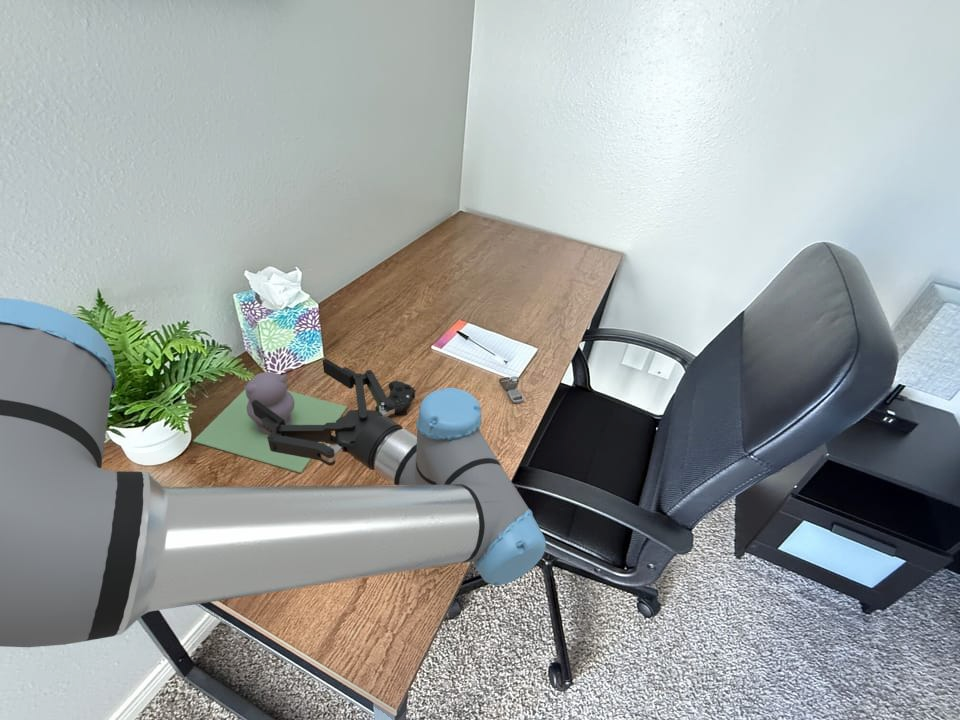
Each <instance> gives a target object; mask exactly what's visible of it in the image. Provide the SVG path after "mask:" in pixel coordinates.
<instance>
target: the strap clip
mask: <svg viewBox="0 0 960 720" xmlns="http://www.w3.org/2000/svg"><path fill="white" fill-rule="evenodd" d="M498 380H499V384H500V385H501V387H502V388H503V390H505V391H506V392H507V393H506V395H507V396H508V399H509V401H510V402H511V403H512V404H521V403H524V401H525V398H524V395H523V394H522V393H521V391H520V389H518V386H519V383H520V377H519V376H516V375H515V376H507V377H500V378H499V379H498Z"/></svg>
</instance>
